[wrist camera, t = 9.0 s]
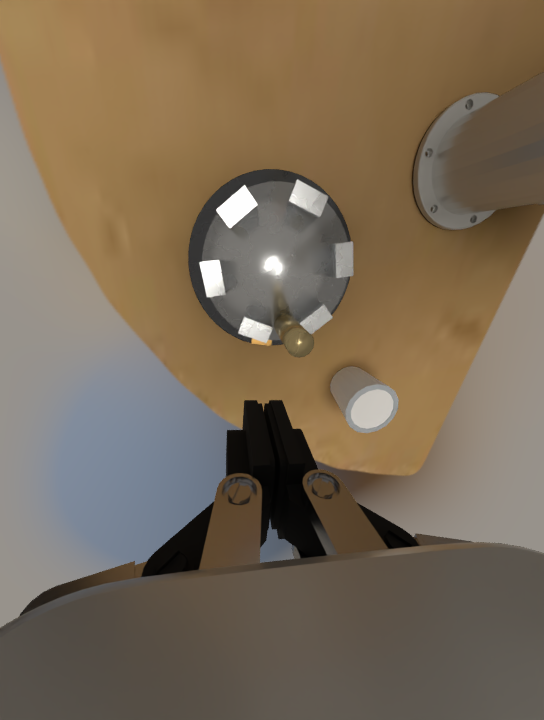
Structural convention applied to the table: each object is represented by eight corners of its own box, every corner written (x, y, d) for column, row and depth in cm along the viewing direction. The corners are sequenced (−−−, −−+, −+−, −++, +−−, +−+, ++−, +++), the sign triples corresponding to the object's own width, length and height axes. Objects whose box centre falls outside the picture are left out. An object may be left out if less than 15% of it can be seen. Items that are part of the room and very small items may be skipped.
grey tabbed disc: (188, 196, 26) (171, 170, 17) (337, 180, 27) (388, 148, 19) (219, 342, 32) (217, 376, 23) (341, 322, 33) (380, 347, 25)
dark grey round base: (363, 196, 30) (373, 192, 28) (324, 347, 36) (330, 353, 34) (197, 154, 27) (194, 146, 25) (185, 331, 33) (182, 336, 31)
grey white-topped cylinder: (341, 354, 37) (365, 376, 31) (379, 372, 39) (409, 395, 33) (317, 396, 39) (335, 424, 33) (355, 410, 41) (379, 439, 35)
